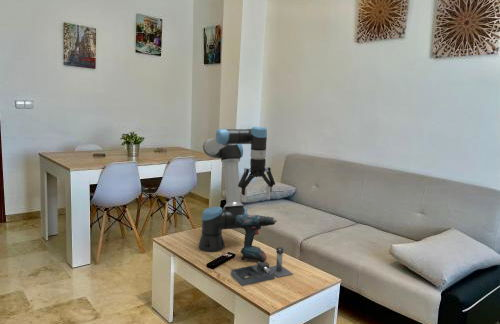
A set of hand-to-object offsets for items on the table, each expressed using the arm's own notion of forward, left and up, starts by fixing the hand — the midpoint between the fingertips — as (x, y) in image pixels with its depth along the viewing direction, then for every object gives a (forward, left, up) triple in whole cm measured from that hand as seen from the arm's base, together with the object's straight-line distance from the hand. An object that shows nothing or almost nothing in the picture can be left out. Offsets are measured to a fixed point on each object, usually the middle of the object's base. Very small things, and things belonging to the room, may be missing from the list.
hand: (256, 200), depth 193 cm
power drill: (-11, +7, -37) cm, 39 cm away
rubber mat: (+8, +11, -37) cm, 39 cm away
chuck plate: (+8, -5, -37) cm, 38 cm away
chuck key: (+8, +11, -36) cm, 39 cm away
